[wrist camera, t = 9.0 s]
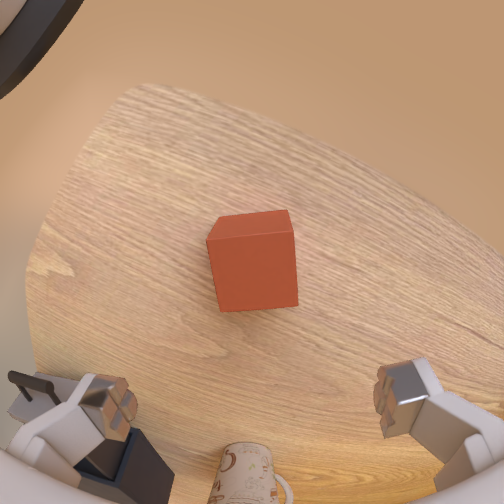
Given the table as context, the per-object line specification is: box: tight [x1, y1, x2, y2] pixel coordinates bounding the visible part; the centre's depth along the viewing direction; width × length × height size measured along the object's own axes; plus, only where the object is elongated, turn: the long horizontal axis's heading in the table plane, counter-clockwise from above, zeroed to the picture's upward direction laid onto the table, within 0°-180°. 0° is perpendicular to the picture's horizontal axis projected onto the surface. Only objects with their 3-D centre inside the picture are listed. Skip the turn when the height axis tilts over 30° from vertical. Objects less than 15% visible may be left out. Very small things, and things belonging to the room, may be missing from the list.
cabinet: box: [75, 428, 175, 504], centre depth 28 cm, size 15×13×10 cm
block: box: [206, 210, 298, 312], centre depth 18 cm, size 4×4×4 cm
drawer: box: [7, 371, 131, 482], centre depth 24 cm, size 18×11×8 cm, turn 7°
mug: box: [207, 443, 293, 504], centre depth 26 cm, size 8×13×10 cm, turn 50°
